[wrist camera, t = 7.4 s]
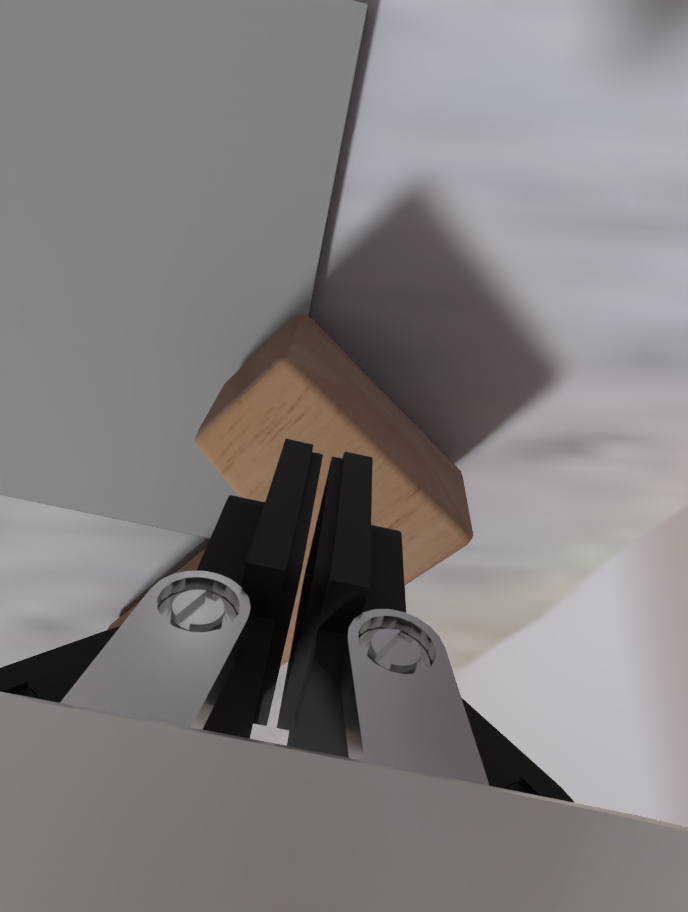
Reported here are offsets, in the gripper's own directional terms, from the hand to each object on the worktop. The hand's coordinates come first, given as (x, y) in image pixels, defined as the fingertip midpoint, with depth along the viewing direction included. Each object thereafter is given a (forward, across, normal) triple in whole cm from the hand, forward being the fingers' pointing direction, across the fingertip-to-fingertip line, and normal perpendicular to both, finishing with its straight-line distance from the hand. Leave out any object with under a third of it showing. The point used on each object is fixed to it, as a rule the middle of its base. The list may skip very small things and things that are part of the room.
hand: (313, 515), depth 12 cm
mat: (+13, +12, 0) cm, 18 cm away
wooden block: (+10, -2, +2) cm, 10 cm away
